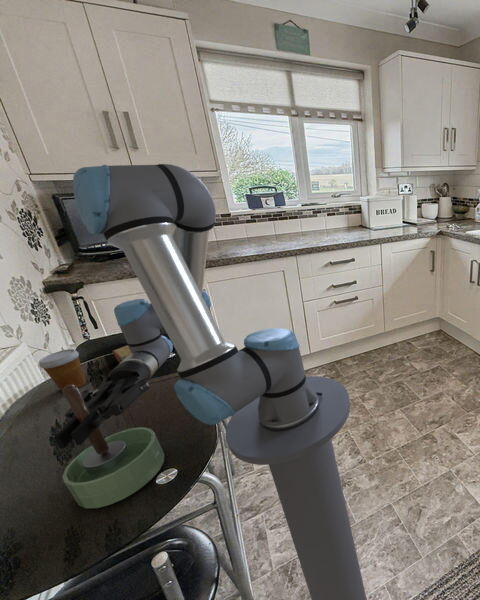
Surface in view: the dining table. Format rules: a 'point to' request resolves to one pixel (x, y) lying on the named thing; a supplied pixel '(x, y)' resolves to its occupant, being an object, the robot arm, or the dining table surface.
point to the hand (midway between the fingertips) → (67, 440)
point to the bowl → (116, 470)
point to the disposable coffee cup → (64, 368)
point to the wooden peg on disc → (95, 438)
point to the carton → (121, 353)
